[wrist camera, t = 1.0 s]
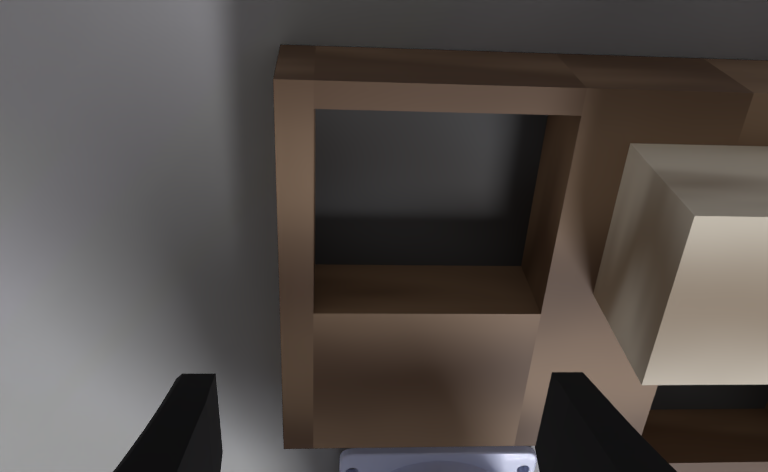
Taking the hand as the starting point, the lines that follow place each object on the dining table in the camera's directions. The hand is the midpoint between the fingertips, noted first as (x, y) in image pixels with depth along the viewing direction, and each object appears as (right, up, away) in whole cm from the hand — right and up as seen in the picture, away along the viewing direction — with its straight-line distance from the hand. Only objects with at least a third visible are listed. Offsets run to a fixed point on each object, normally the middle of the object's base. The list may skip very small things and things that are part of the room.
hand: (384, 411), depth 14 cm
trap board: (+10, +2, +12) cm, 15 cm away
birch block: (+9, +4, +7) cm, 12 cm away
